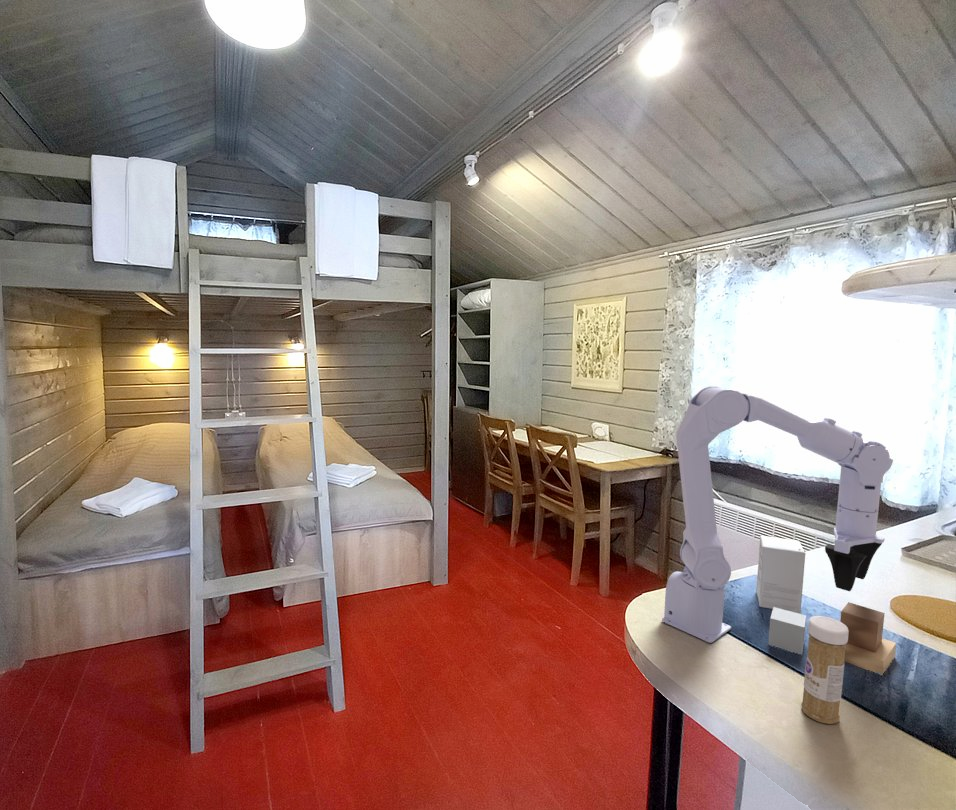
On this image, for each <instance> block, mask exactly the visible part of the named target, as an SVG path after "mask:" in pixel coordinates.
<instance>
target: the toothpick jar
mask: <svg viewBox="0 0 956 810" xmlns="http://www.w3.org/2000/svg"><path fill="white" fill-rule="evenodd" d="M808 619H809V620H808V624H807V632H808V645H807V657H806V659H805V667H804V668H805V670H804V676H803V677H804V679H803V692H802V693H803V694H802V695H803V696H802V701H801V702H800V704H801V710H802V711H803V713H804V714H805V715H807V716H808V717H809V718H811V719H812V720H814V721H817V722H820V723H821V724H827V725H829V724H830V725H831V724H837V723H838V722H839V721H840V705H841V699H842V693H843V681H844V673H845V672H844V671H845V664H846V662H845V661H844V658H845V647H846V643H847V642H848V632H849V631H848V628H847V626H846V625H844V624H843V623H842V622H840V620H838V619H835V618H832V617H829V616H825V615H814V616H810V617H809V618H808Z"/></svg>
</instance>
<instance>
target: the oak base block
mask: <svg viewBox="0 0 956 810" xmlns="http://www.w3.org/2000/svg"><path fill="white" fill-rule="evenodd" d="M896 648H897V642H895V641H892V640H889V639H886V638H883V637H882V642H881V644H880V646H879V647H878V649H877V651H876V653H875V652H872V651H869V650H866V649H864V648H861V647H858V646H855V645H852V644H849V643H846V647H845V658H844V663H848V664H850V665H853V666H856V667H859V668H861V669H863V670H866V671H868V670H870V671H869V672H871V671H873V672H877V673H880V674H883V673H884V672H885V670H886V669H887V667H888V666H889V667H890V666H891V664H892V662H893V661H894V659H895V658H896V657H895V656H896ZM892 660H893V661H892ZM890 663H891V664H890ZM889 667H888V668H889ZM887 670H888V669H887ZM887 670H886V671H887ZM873 672H872V673H873ZM885 673H886V672H885ZM885 673H884V674H885Z"/></svg>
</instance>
